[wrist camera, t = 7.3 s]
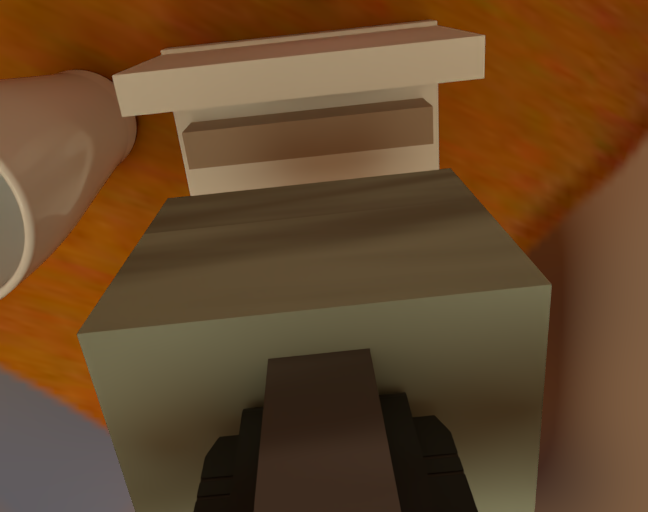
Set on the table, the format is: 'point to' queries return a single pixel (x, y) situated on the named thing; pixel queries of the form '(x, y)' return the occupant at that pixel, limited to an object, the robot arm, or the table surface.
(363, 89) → the stand
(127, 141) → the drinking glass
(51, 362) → the table surface
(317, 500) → the olive boxy piece
